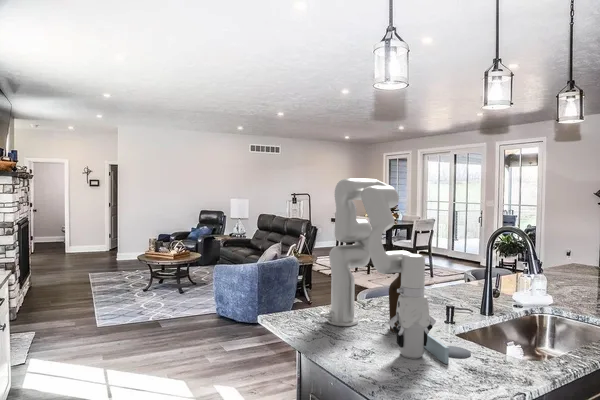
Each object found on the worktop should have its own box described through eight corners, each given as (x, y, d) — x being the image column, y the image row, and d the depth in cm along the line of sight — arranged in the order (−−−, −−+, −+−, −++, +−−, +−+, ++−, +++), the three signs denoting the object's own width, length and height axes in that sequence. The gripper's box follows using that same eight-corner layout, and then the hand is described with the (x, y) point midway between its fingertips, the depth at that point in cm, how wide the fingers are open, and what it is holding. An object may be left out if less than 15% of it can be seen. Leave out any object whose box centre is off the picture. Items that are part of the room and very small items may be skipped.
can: (419, 351, 142) (419, 315, 142) (426, 359, 134) (427, 322, 134) (397, 351, 142) (397, 315, 141) (403, 359, 134) (404, 322, 134)
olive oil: (413, 336, 156) (414, 269, 156) (385, 332, 160) (386, 267, 160) (418, 328, 166) (419, 265, 165) (391, 324, 170) (392, 263, 170)
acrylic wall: (444, 363, 132) (445, 347, 131) (421, 345, 147) (421, 331, 147) (448, 363, 132) (448, 347, 132) (424, 345, 147) (424, 330, 147)
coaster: (448, 359, 135) (448, 357, 135) (433, 347, 145) (433, 346, 145) (477, 357, 137) (477, 356, 137) (460, 346, 147) (460, 345, 147)
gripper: (392, 295, 132) (391, 351, 133) (442, 293, 136) (442, 348, 136) (383, 290, 140) (382, 342, 140) (431, 288, 143) (430, 340, 143)
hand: (411, 345), depth 138 cm, fingers closed on can, 7 cm apart
